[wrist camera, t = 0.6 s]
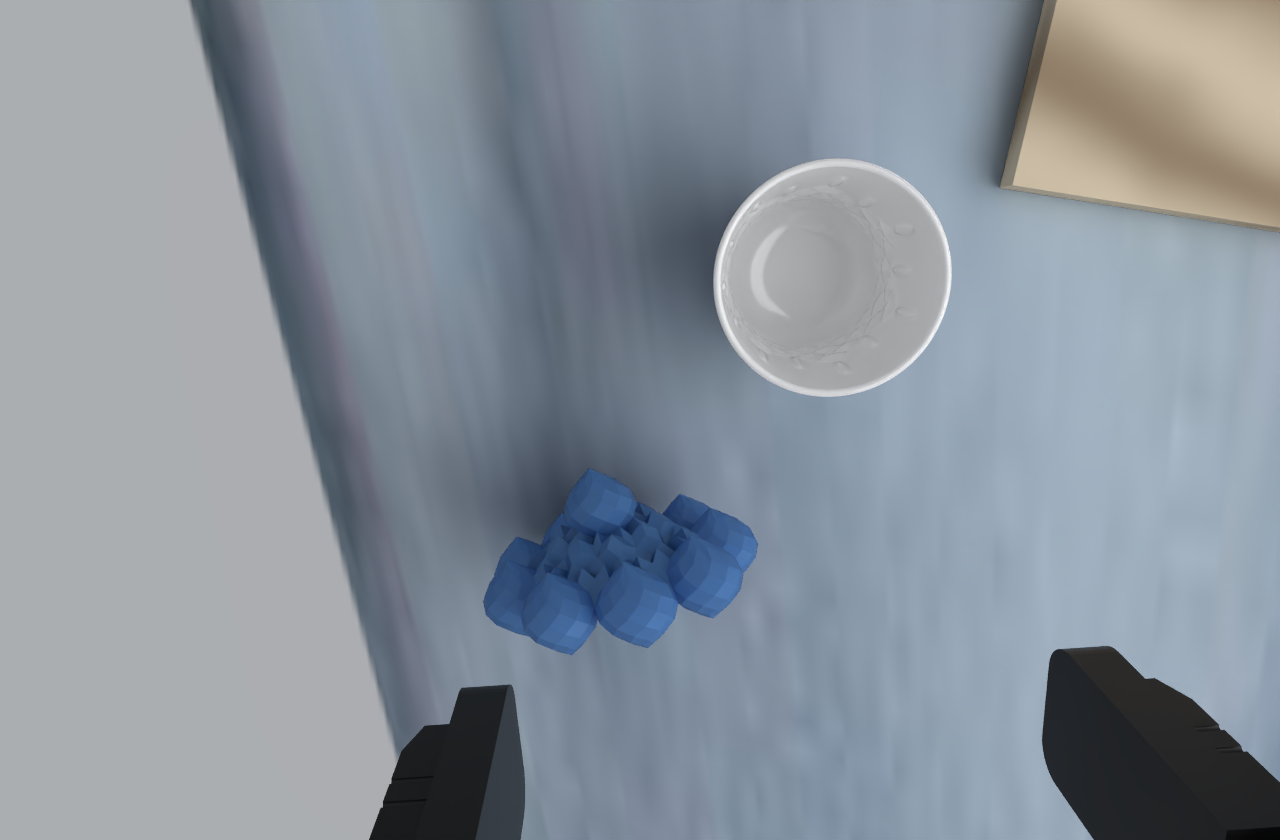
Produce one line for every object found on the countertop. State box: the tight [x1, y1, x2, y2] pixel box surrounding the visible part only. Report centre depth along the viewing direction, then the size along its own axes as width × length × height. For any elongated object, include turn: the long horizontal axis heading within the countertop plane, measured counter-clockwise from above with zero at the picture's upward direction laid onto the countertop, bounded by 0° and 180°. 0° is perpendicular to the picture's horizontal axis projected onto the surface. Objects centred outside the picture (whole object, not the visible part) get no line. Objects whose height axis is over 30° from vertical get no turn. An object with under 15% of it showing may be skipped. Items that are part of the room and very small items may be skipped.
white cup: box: [713, 158, 952, 397], centre depth 33 cm, size 8×8×10 cm
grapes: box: [483, 469, 758, 655], centre depth 35 cm, size 12×7×12 cm, turn 104°
